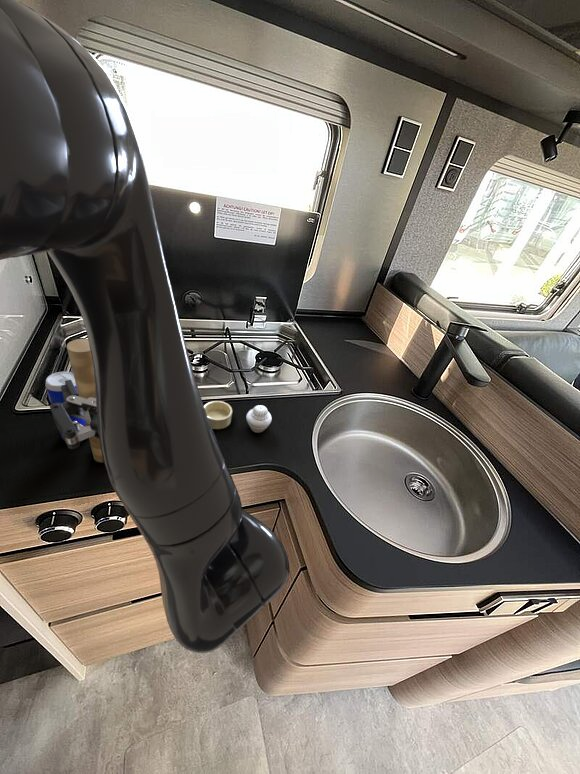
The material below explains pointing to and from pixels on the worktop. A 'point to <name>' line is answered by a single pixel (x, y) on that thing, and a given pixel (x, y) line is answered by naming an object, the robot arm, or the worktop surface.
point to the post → (84, 381)
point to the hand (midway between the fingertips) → (104, 377)
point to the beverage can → (55, 391)
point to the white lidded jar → (258, 418)
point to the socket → (218, 414)
